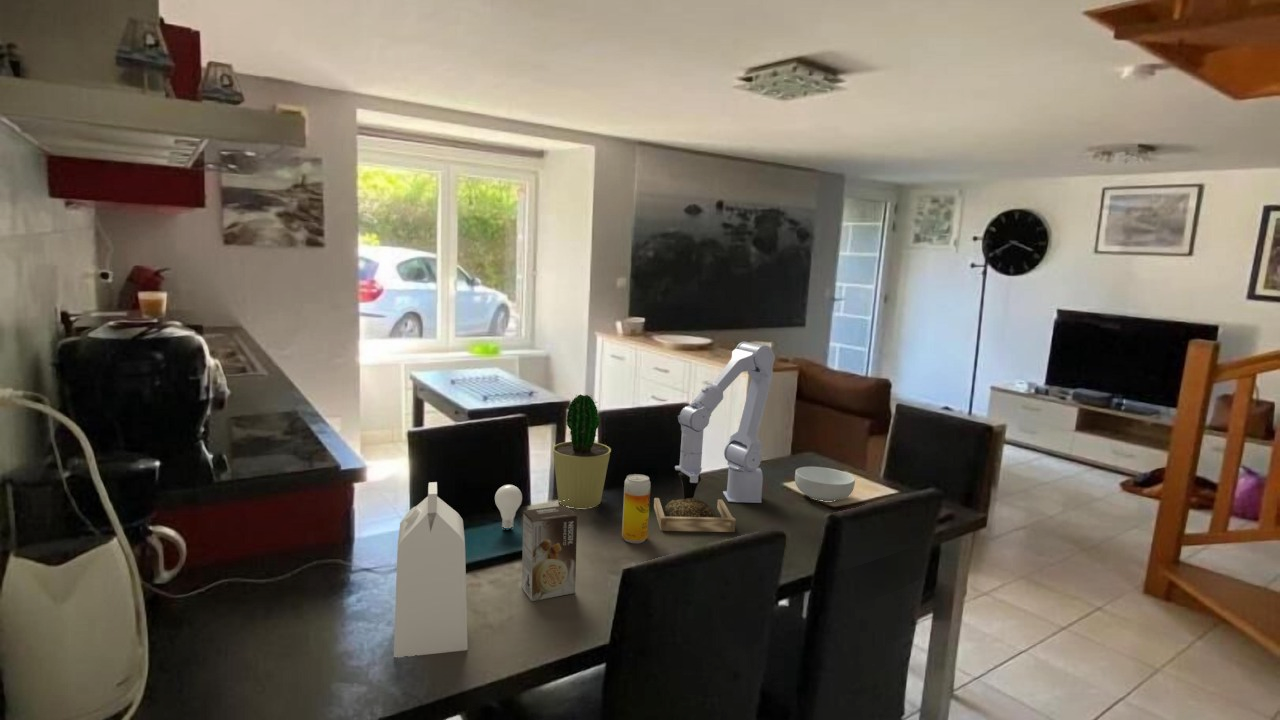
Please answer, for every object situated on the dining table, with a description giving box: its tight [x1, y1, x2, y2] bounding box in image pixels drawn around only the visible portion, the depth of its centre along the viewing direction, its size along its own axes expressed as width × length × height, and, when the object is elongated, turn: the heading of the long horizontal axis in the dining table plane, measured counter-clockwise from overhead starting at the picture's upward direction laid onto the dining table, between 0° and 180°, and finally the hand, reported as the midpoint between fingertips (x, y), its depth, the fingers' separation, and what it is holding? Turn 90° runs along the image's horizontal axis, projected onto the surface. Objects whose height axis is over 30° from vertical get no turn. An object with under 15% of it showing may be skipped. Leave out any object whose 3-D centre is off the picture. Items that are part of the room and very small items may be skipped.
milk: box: [393, 481, 468, 659], centre depth 116 cm, size 12×12×26 cm
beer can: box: [621, 473, 652, 544], centre depth 161 cm, size 6×6×15 cm
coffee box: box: [521, 505, 578, 602], centre depth 134 cm, size 9×6×16 cm
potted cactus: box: [552, 394, 612, 508], centre depth 183 cm, size 15×15×30 cm
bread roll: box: [664, 497, 715, 517], centre depth 179 cm, size 13×12×5 cm
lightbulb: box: [494, 484, 523, 528], centre depth 163 cm, size 6×6×11 cm
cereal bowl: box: [794, 466, 856, 501], centre depth 198 cm, size 17×17×7 cm
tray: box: [653, 497, 737, 533], centre depth 177 cm, size 18×16×3 cm
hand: (688, 500), depth 185 cm, fingers closed
